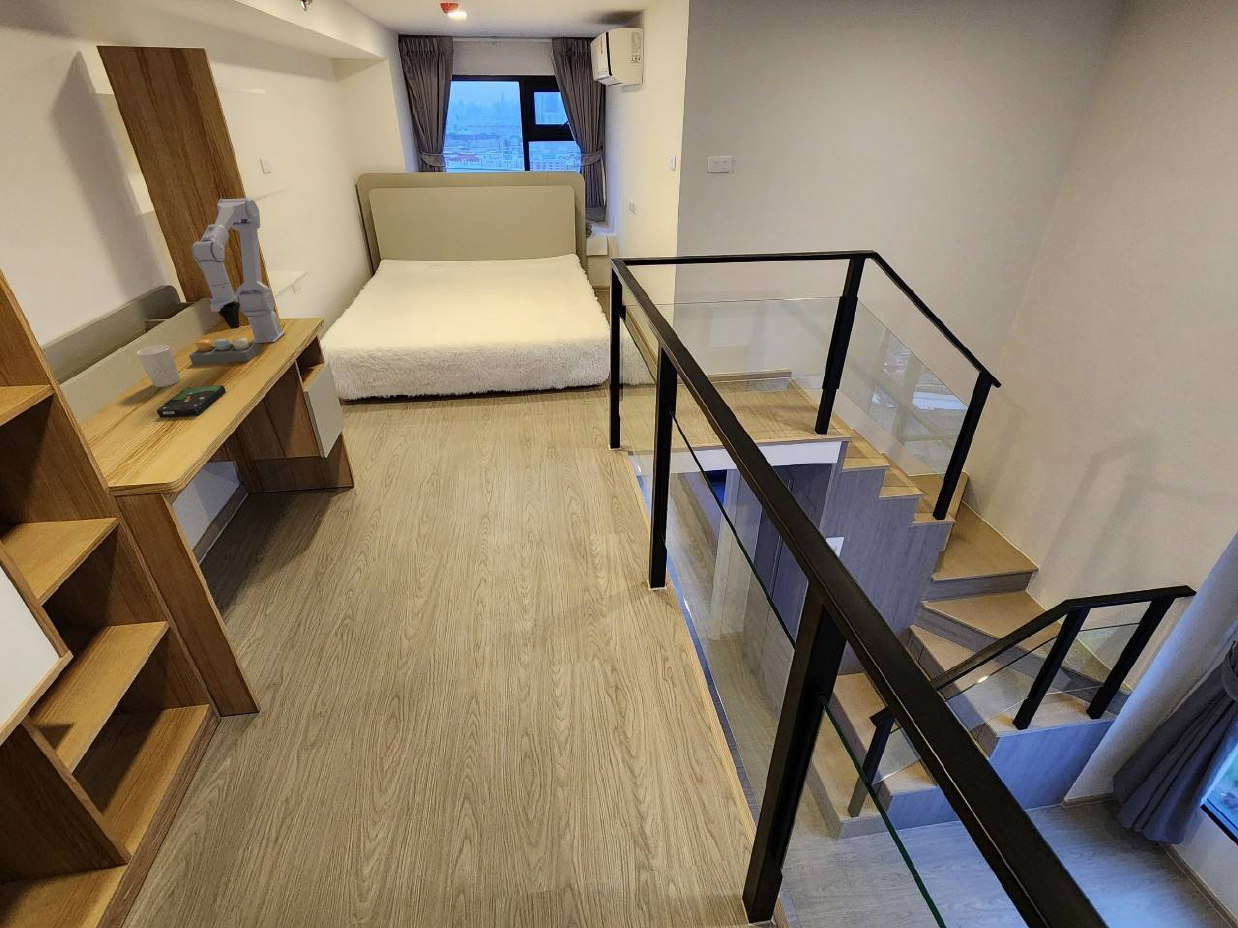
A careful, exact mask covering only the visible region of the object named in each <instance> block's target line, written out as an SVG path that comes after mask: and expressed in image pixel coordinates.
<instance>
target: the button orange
mask: <svg viewBox="0 0 1238 928" xmlns="http://www.w3.org/2000/svg"><path fill="white" fill-rule="evenodd" d="M195 345H196V347H197V349H198V350H199V352H206V351H210V350H212V349H213V346H212V345H213V344H212V341H211V339H206V338H205V339H201V340H198V341H195Z"/></svg>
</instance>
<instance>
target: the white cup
mask: <svg viewBox="0 0 1238 928" xmlns="http://www.w3.org/2000/svg"><path fill="white" fill-rule="evenodd" d="M136 355H137V357H138V359H139V361H140V363H141V365H142V367H143V369H144V371H145V372H146V374H147V377H149V378H150V382H151V383H152V385H153V386H154V387H157V388H163V387H168V386H171V385H174V384H177V383H179V382H180V381H181V377H180V374H179V372H178V366H177V364H176V361H175V358H174V355H173V353H172V350H171V347H170V346H169V345H167V344H156V345H150V346H146V347H143V348H140V349H138V350H137V351H136Z"/></svg>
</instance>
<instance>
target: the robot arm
mask: <svg viewBox="0 0 1238 928" xmlns="http://www.w3.org/2000/svg"><path fill="white" fill-rule="evenodd" d="M255 201H256V200H254V199H253V198H251V197H246V198H232V199H231V198H230V199H229V198H225V199H224V198H220V199H219V200H218V202H217V204H216V207H217V211H218V214H217V217H216V220H215V222H214V223H213V224H208V225H207V226H206V227H207V228H206V230H205V232H204V233H203V234H202V237H201V238H200V240H199V241H195V242H194V243H193V245H191V252H192V254H191V255H192V257H193V259H194V260H195V262H197V264H198V267H199V269H200V270H202V272H203V274H204V277H205V280H206V282H207V285H208V288H209V290H210V293H211V296H212V298H210V299H209V301H210V303H211V304H210V305H209V308H210V310H211V313H215V312H217V313H218V314H219V315H220V317H222V318H223V319H224V321H225V322H226V324H227V325H228V326H229V328H230V329H231V330H233V329H239V328H240V318H239V317H240V316H239V312H241V313H242V314H244V316H246V317H247V319H248V322H249V325H250V328H251V331H252V334H253V337H254V338H253V339H252V340H251V341H250V343H251V342H258V343H259V344H261V343H262V344H263V343H265V344H266V343H276V342H277V341H278V340H279V339H280V338H282V336H283V335H285V334H286V331H283V330H282V327H281V323H280V320H279V317H278V315H277V313H276V312H275V311H274V308H275V299H274V297H273V292H272V289H271V288H270V287H269V286H267V285H265V284H264V283H263V282H262V281H263V280H262V270H261V269H262V267H261V256H260V246H259V244H260V243H259V233H258V229H260V228H261V218H260V215H261V214H260V208H259V207H258V205H257V203H256V202H255ZM230 229H233V230H236V231H237V232H238V233H239V240H240V242H239V243H240V252H241V263H242V265H241V267H242V275H243V277H242V278H243V282H242V283H241V284H240V285H239V286H238V287H237V288H236V291H234V289H233V287H232V286H233V285H232V283H231V281H230V278H229V275H228V272H227V269H226V266H225V262H224V260H225V258H226V257H225V250H226V247H225V246H226V245H227V243H228V241H229V239H230V234H229V232H228V231H229V230H230Z"/></svg>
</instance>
